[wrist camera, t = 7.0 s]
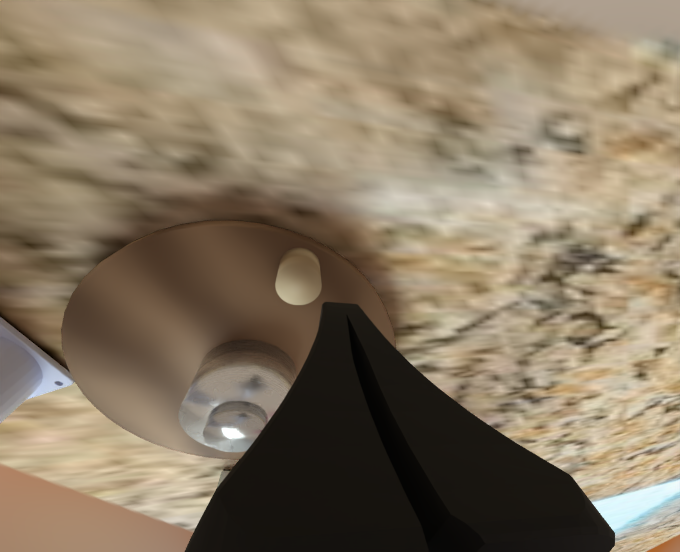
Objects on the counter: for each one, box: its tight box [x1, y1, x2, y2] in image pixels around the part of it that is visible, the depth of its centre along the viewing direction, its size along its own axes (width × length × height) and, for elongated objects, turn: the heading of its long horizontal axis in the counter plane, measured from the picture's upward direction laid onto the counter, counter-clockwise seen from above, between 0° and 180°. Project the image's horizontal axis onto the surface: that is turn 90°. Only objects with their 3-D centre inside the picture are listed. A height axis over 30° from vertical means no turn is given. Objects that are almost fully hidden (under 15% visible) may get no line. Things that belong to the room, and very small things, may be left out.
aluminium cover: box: [178, 340, 297, 452], centre depth 17 cm, size 7×7×4 cm
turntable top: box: [61, 220, 396, 460], centre depth 19 cm, size 23×23×4 cm
